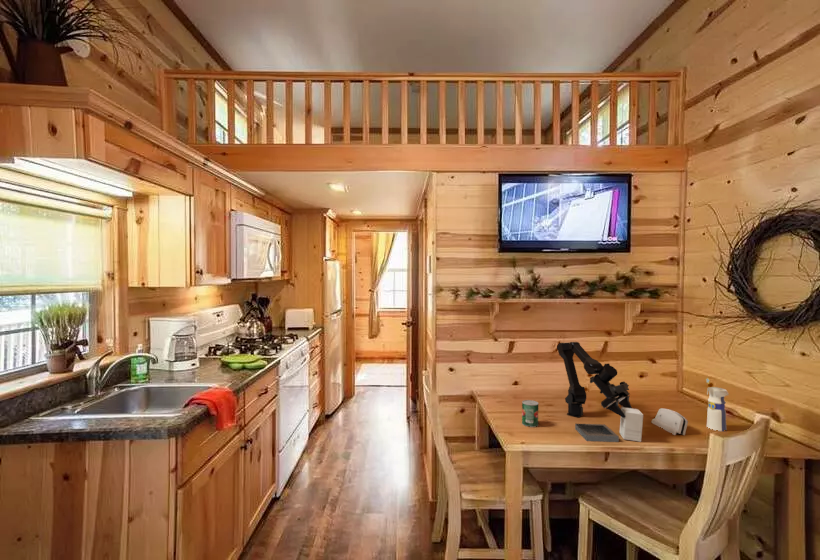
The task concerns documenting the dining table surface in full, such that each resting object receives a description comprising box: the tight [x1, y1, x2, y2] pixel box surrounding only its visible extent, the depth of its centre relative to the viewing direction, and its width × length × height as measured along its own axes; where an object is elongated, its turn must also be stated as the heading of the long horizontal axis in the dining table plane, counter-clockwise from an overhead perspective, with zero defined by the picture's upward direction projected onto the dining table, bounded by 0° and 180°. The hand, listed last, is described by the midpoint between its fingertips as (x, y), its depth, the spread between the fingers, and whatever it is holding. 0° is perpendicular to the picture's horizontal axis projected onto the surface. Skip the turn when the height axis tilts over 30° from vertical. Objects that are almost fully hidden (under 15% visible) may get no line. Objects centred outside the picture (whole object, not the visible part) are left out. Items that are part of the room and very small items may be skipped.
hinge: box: [651, 407, 689, 436], centre depth 189 cm, size 17×5×10 cm, turn 3°
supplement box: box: [619, 406, 644, 442], centre depth 177 cm, size 7×7×13 cm
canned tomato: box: [521, 399, 540, 428], centre depth 193 cm, size 8×8×11 cm
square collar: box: [574, 423, 620, 443], centre depth 180 cm, size 14×14×3 cm
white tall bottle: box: [705, 377, 730, 432], centre depth 189 cm, size 8×9×25 cm
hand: (629, 415), depth 177 cm, fingers open, 9 cm apart
